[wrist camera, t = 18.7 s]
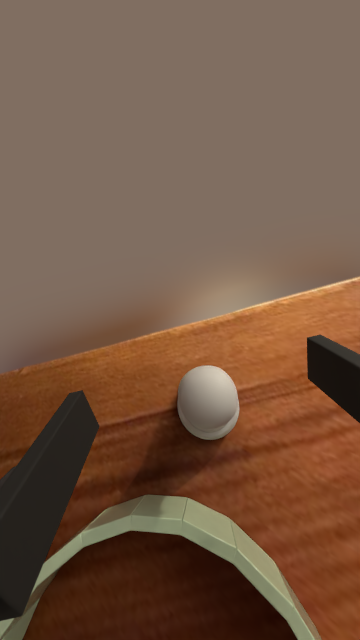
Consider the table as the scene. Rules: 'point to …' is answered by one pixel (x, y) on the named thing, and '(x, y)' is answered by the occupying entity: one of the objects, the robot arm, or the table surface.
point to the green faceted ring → (191, 524)
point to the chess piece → (208, 402)
